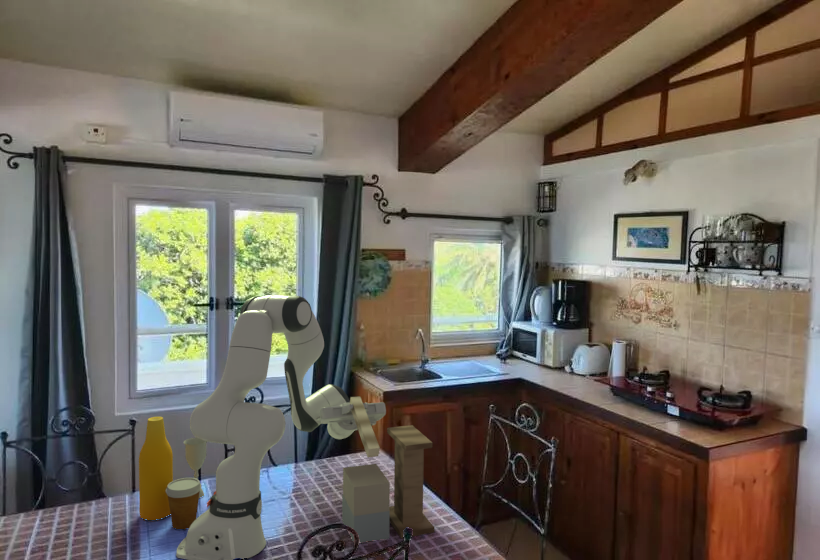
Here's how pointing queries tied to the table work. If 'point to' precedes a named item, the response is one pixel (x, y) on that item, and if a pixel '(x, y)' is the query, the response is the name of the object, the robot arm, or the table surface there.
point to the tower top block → (366, 489)
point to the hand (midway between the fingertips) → (358, 406)
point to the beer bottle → (155, 471)
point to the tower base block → (366, 523)
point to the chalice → (195, 455)
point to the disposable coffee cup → (183, 501)
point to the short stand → (409, 481)
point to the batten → (364, 427)
